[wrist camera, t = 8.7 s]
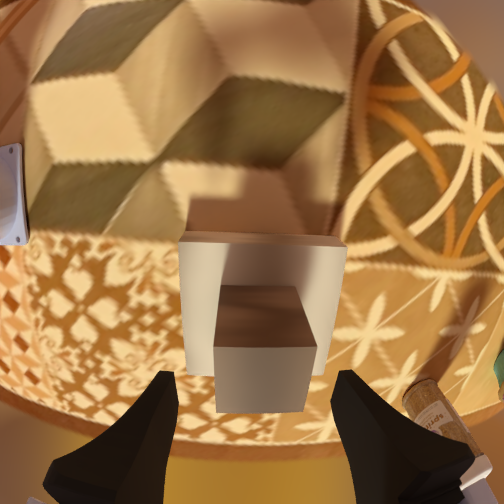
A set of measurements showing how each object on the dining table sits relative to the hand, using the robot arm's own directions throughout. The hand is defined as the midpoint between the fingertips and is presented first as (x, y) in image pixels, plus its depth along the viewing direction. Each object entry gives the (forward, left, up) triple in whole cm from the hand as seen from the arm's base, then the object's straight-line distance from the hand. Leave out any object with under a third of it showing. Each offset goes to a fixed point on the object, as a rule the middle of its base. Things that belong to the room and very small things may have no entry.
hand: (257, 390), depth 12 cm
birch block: (+1, -1, -10) cm, 10 cm away
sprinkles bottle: (+19, -13, -10) cm, 24 cm away
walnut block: (0, 0, -7) cm, 7 cm away
